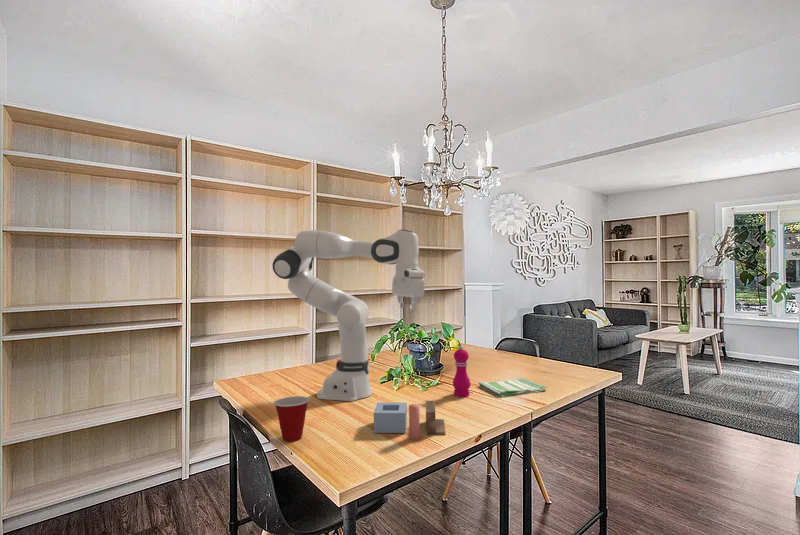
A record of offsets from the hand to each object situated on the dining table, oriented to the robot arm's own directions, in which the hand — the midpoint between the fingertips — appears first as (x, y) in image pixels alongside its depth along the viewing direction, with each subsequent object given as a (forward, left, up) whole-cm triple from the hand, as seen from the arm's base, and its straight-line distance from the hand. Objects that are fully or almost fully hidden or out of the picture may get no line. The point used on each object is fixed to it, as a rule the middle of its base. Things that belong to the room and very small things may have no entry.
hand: (406, 308), depth 159 cm
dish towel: (+43, +21, -37) cm, 61 cm away
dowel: (+3, -31, -37) cm, 48 cm away
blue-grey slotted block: (-5, -23, -37) cm, 43 cm away
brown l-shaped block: (+10, -23, -37) cm, 44 cm away
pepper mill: (+21, +12, -37) cm, 44 cm away
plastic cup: (-35, -32, -37) cm, 60 cm away
